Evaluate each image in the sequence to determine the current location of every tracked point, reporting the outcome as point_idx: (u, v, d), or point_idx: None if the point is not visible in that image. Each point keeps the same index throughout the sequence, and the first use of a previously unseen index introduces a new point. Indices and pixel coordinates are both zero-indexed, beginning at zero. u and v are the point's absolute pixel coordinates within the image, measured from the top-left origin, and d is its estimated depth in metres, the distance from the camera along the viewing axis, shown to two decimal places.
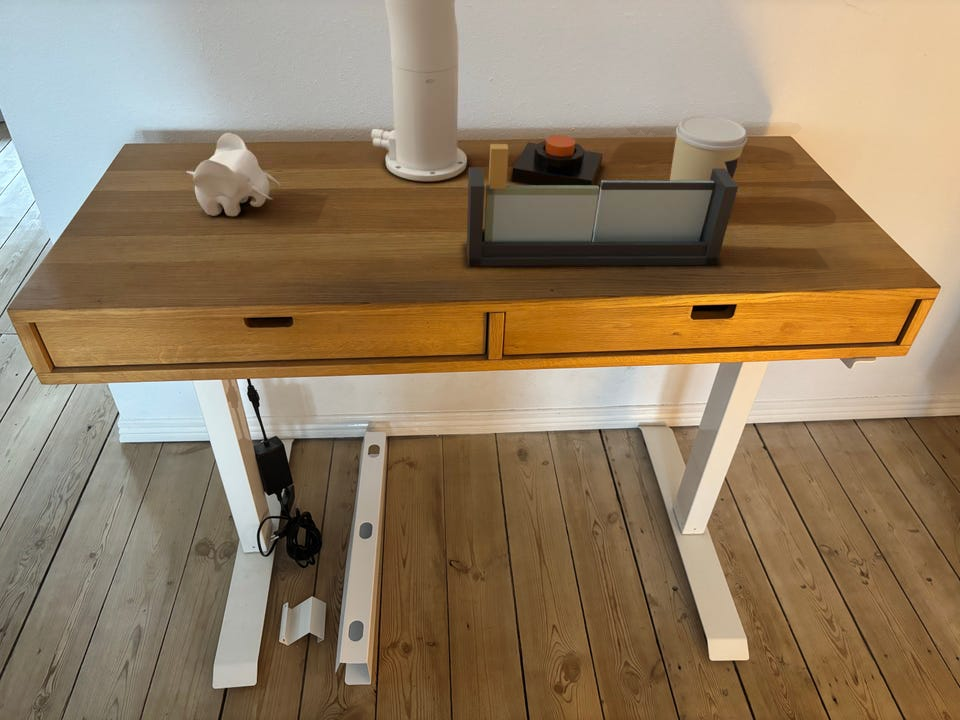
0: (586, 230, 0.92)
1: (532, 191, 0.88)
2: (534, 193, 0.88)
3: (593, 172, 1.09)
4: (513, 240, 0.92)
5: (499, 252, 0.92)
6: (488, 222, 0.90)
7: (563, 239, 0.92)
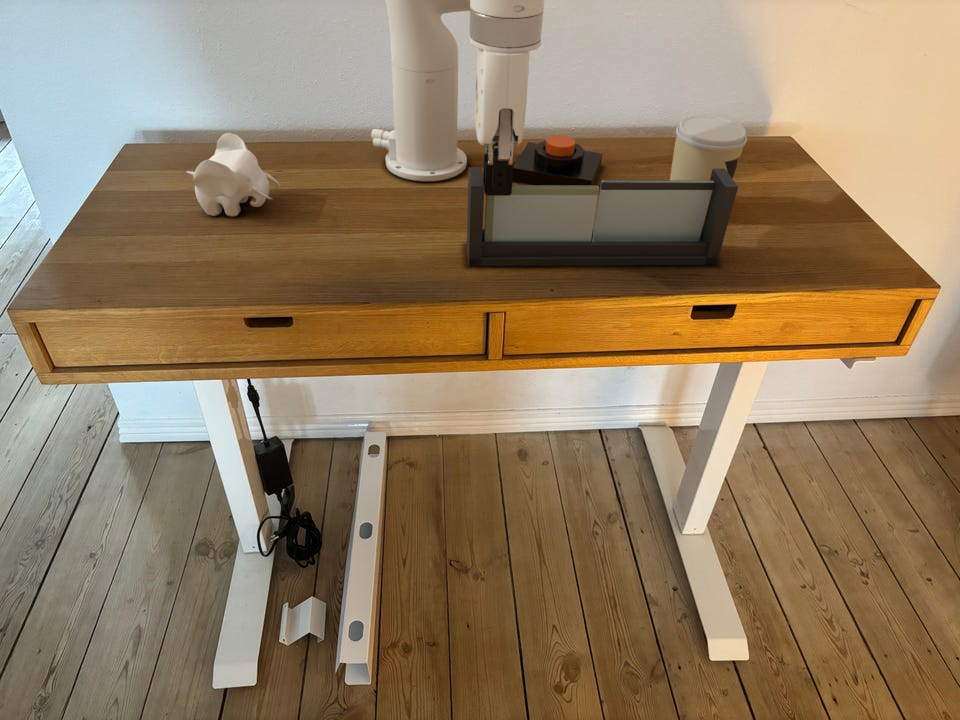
0: (586, 230, 0.92)
1: (532, 191, 0.88)
2: (534, 193, 0.88)
3: (593, 172, 1.09)
4: (513, 240, 0.92)
5: (499, 252, 0.92)
6: (488, 222, 0.90)
7: (563, 239, 0.92)
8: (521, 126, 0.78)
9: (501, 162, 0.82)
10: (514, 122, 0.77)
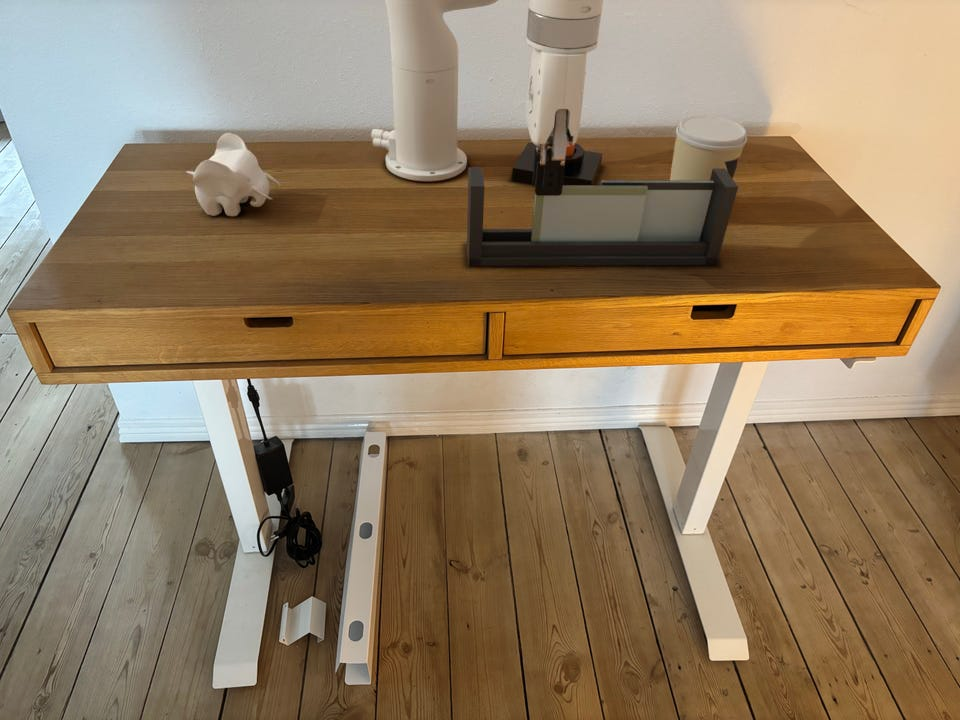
0: (633, 230, 0.92)
1: (581, 191, 0.88)
2: (583, 193, 0.88)
3: (593, 172, 1.09)
4: (560, 240, 0.92)
5: (499, 252, 0.92)
6: (536, 222, 0.91)
7: (610, 239, 0.93)
8: (576, 127, 0.78)
9: (554, 162, 0.83)
10: (570, 123, 0.78)
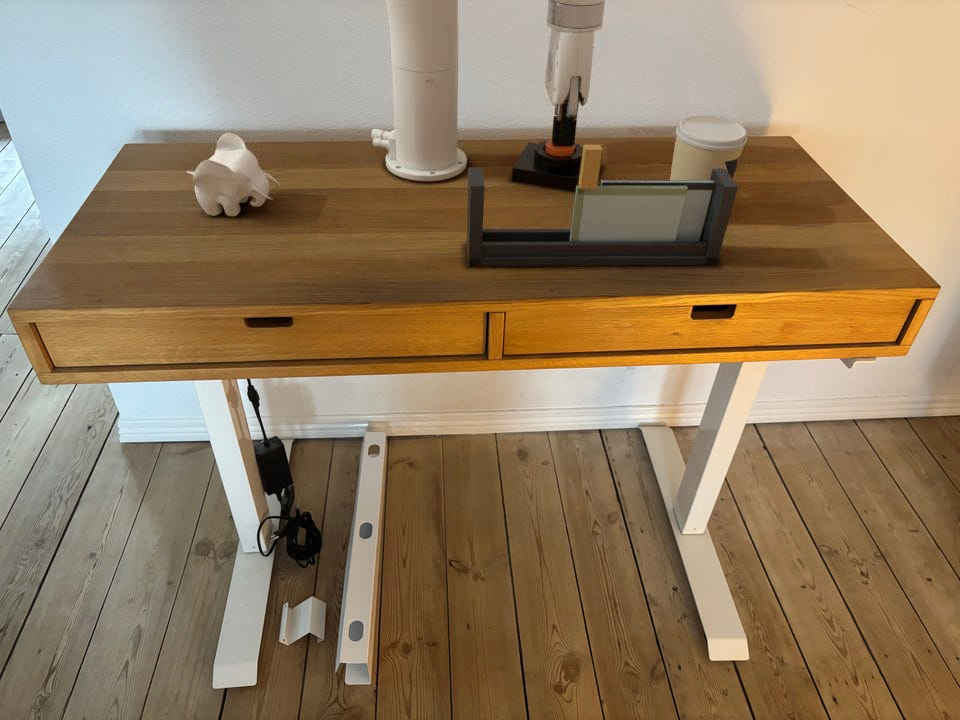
0: (671, 230, 0.93)
1: (622, 191, 0.89)
2: (623, 193, 0.89)
3: None
4: (599, 240, 0.93)
5: (499, 252, 0.92)
6: (575, 222, 0.91)
7: (648, 238, 0.93)
8: (587, 90, 1.00)
9: (568, 118, 1.05)
10: (582, 87, 1.00)
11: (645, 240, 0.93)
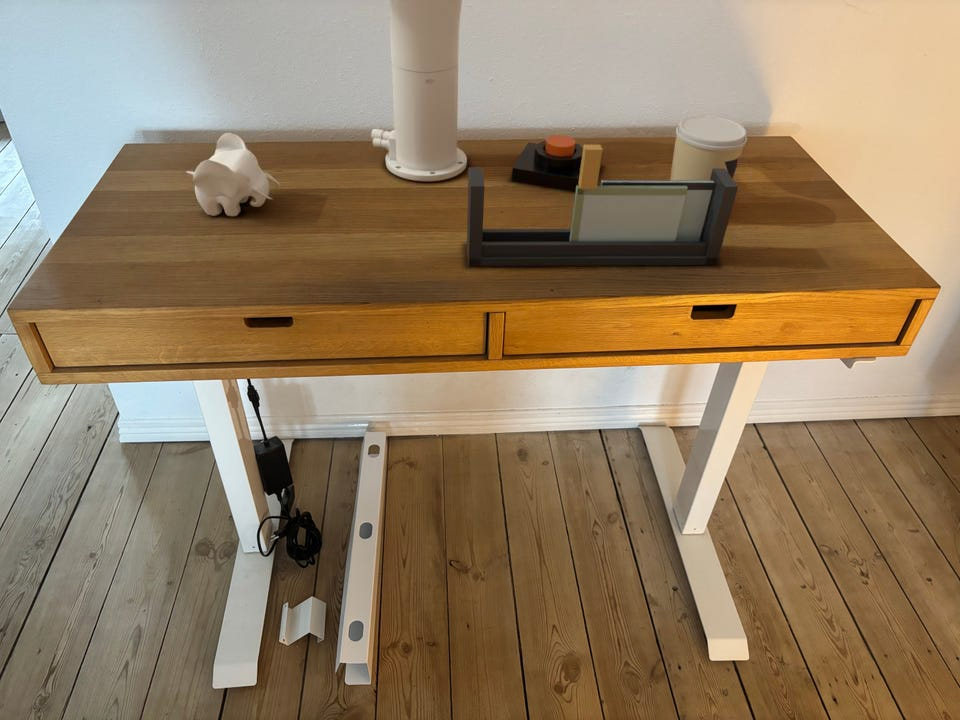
0: (671, 230, 0.93)
1: (622, 191, 0.89)
2: (623, 193, 0.89)
3: None
4: (599, 240, 0.93)
5: (499, 252, 0.92)
6: (575, 222, 0.91)
7: (648, 238, 0.93)
8: None
9: None
10: None
11: (645, 240, 0.93)
